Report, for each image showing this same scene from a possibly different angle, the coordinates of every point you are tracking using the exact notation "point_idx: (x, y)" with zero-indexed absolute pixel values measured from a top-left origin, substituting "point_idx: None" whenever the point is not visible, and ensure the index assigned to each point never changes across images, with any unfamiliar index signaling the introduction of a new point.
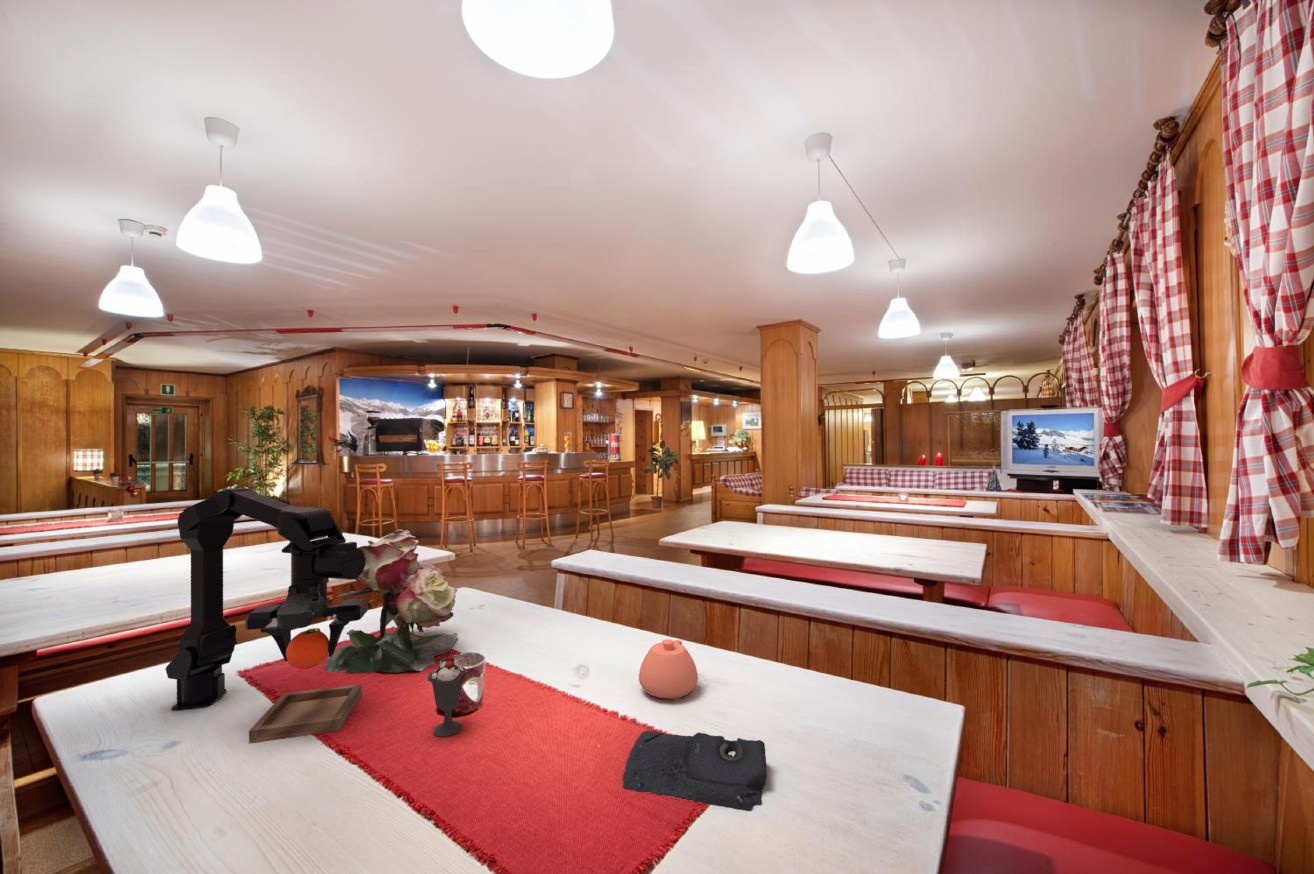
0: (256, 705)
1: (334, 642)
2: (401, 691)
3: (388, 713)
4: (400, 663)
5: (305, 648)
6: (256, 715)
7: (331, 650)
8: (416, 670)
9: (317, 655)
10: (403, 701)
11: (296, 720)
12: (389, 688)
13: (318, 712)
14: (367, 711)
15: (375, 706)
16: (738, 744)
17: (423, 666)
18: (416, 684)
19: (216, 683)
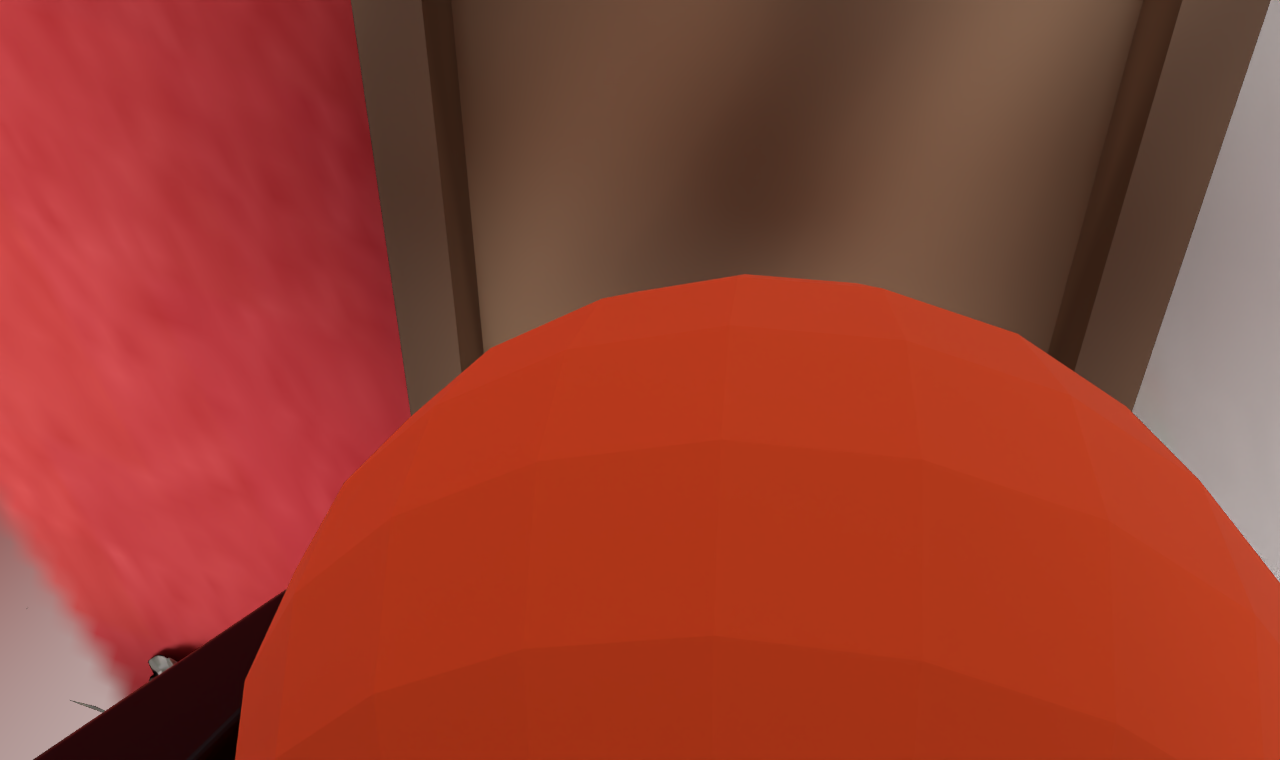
0: (1269, 564)
1: (59, 756)
2: (153, 410)
3: (59, 33)
4: None
5: (655, 525)
6: (1252, 391)
7: (269, 621)
8: (171, 659)
9: (424, 410)
10: (45, 229)
11: (859, 110)
12: (274, 488)
13: (690, 210)
14: (274, 140)
15: (246, 215)
16: None
17: None
18: (93, 482)
19: None
